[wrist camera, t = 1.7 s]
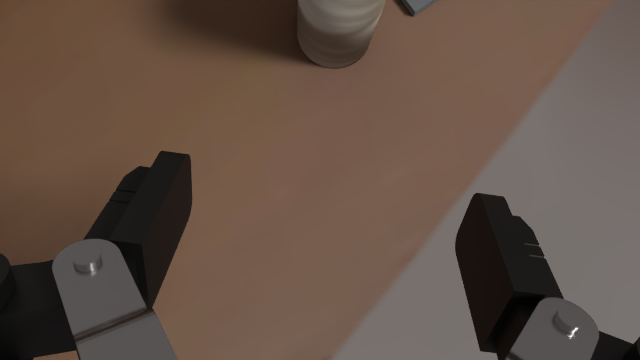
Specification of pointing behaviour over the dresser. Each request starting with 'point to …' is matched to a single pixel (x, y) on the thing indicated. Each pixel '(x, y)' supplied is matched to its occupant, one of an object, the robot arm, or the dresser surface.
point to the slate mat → (417, 5)
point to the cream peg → (336, 29)
